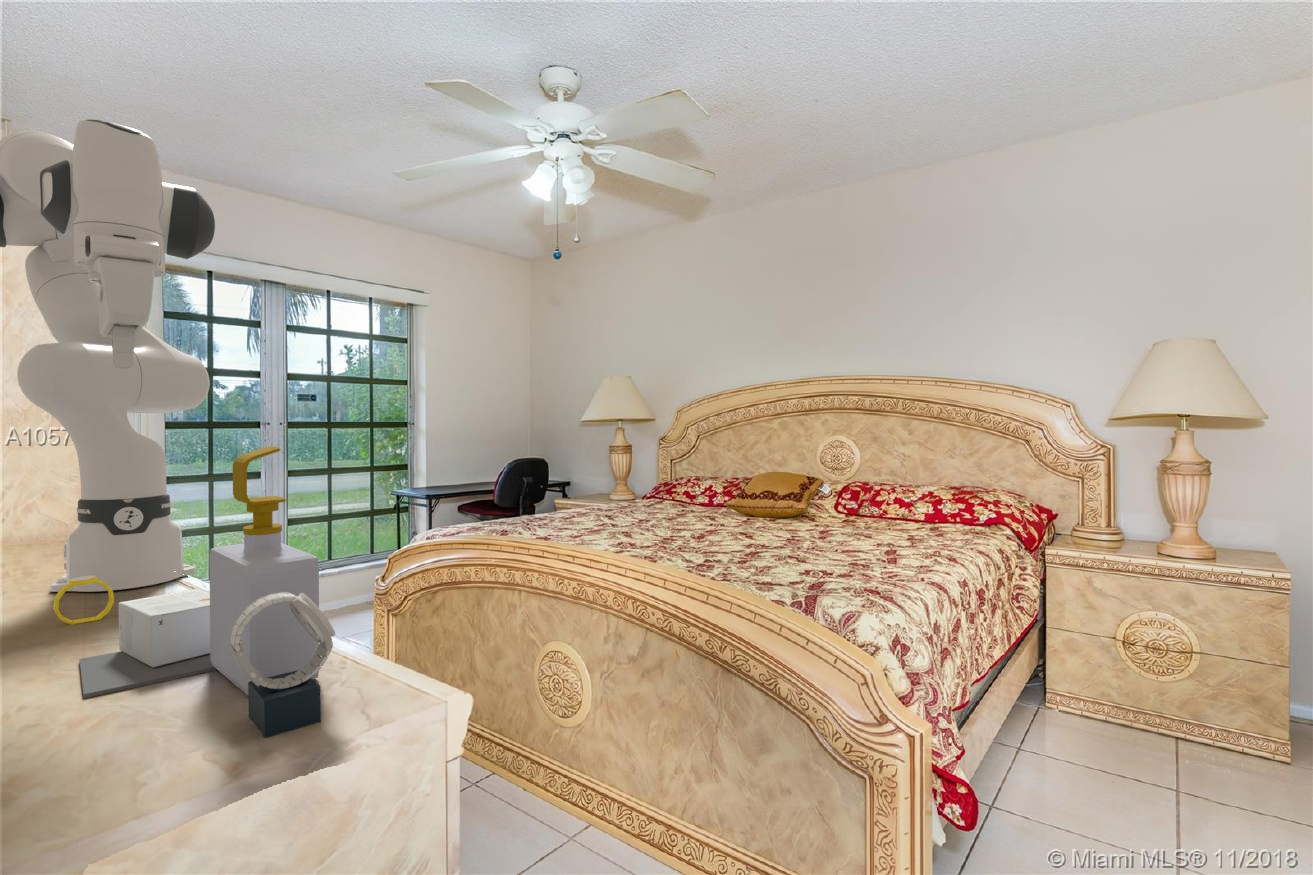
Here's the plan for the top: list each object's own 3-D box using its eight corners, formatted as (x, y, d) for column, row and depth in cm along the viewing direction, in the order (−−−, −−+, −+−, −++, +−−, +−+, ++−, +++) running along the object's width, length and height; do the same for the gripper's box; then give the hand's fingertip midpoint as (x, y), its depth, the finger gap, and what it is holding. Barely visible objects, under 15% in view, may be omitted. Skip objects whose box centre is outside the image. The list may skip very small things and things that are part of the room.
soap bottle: (321, 679, 67) (321, 449, 66) (248, 700, 62) (246, 452, 61) (275, 649, 75) (274, 443, 74) (207, 665, 70) (205, 444, 69)
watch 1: (57, 631, 85) (52, 585, 85) (55, 626, 87) (49, 582, 87) (117, 617, 90) (112, 574, 89) (113, 613, 91) (108, 571, 91)
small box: (117, 650, 75) (150, 669, 69) (117, 601, 75) (149, 616, 69) (198, 632, 82) (235, 649, 76) (198, 587, 82) (234, 600, 76)
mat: (79, 662, 73) (79, 659, 73) (229, 634, 82) (229, 631, 82) (83, 698, 63) (83, 694, 63) (252, 662, 73) (252, 658, 73)
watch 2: (344, 714, 59) (342, 592, 59) (240, 745, 54) (237, 610, 54) (324, 696, 63) (322, 581, 63) (225, 722, 58) (222, 597, 58)
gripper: (84, 267, 88) (87, 371, 88) (91, 234, 73) (94, 360, 73) (144, 274, 92) (146, 373, 93) (162, 244, 77) (165, 363, 77)
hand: (123, 367), depth 83 cm, fingers closed
